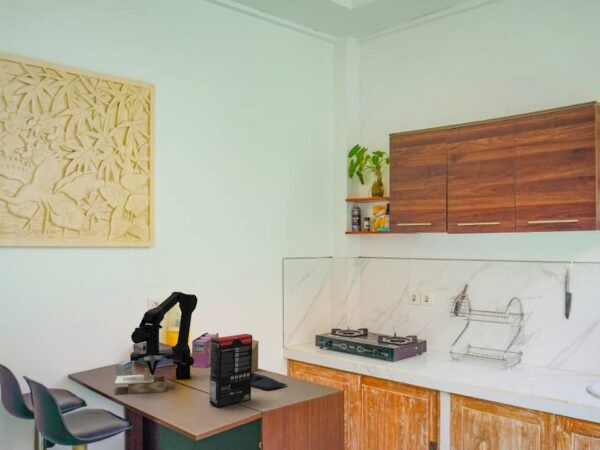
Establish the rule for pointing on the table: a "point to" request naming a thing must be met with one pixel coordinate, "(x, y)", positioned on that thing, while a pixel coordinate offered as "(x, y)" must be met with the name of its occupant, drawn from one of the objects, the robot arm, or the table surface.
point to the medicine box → (124, 368)
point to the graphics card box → (230, 369)
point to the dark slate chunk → (264, 382)
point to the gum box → (202, 350)
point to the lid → (135, 378)
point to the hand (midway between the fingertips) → (152, 375)
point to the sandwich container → (254, 355)
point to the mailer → (149, 386)
